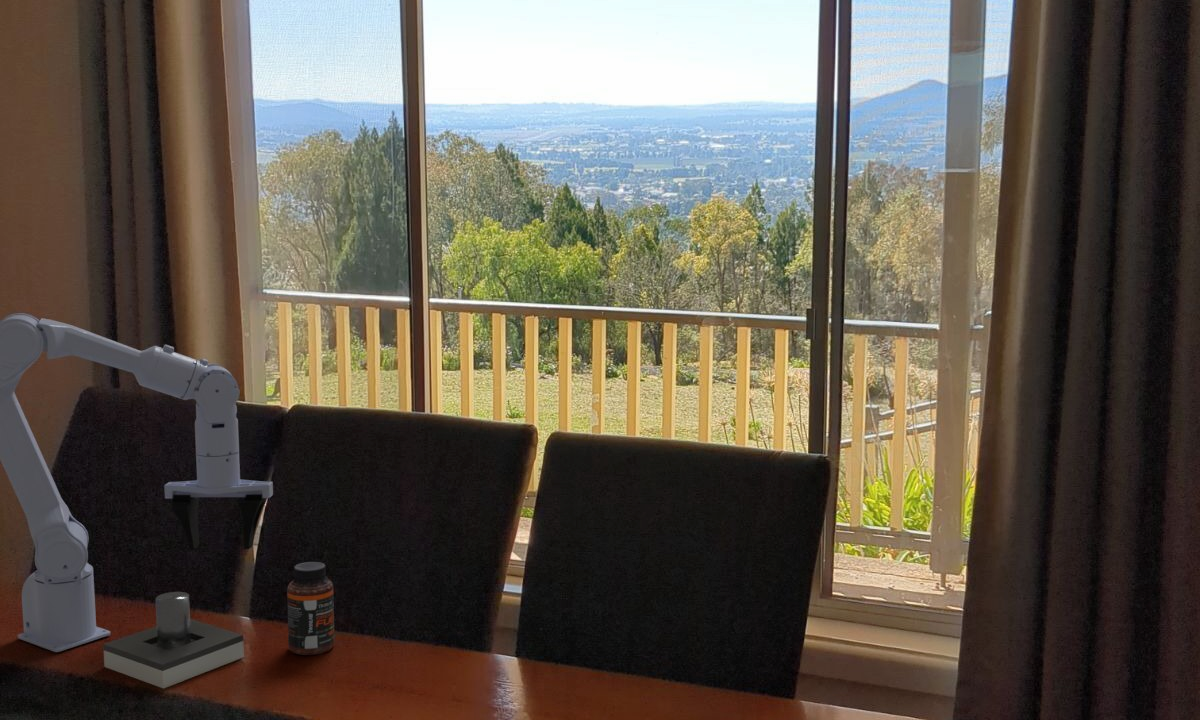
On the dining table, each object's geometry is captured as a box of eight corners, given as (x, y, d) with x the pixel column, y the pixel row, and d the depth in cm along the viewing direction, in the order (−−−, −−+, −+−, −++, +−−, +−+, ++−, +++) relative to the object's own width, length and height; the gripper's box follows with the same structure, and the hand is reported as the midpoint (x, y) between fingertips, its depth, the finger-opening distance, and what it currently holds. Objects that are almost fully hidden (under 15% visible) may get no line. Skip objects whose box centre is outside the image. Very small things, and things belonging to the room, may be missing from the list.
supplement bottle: (322, 658, 148) (320, 574, 147) (280, 655, 149) (277, 571, 148) (342, 642, 154) (340, 560, 153) (301, 638, 155) (298, 557, 154)
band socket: (104, 666, 145) (103, 644, 145) (185, 638, 155) (184, 616, 155) (163, 688, 139) (162, 664, 138) (243, 657, 149) (243, 634, 148)
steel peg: (151, 658, 146) (148, 598, 145) (178, 649, 150) (176, 589, 149) (171, 665, 144) (168, 604, 143) (198, 655, 148) (195, 595, 147)
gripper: (277, 446, 164) (280, 539, 166) (175, 446, 164) (179, 539, 165) (264, 456, 157) (267, 553, 159) (157, 457, 157) (161, 553, 158)
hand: (221, 547), depth 162 cm, fingers open, 7 cm apart
